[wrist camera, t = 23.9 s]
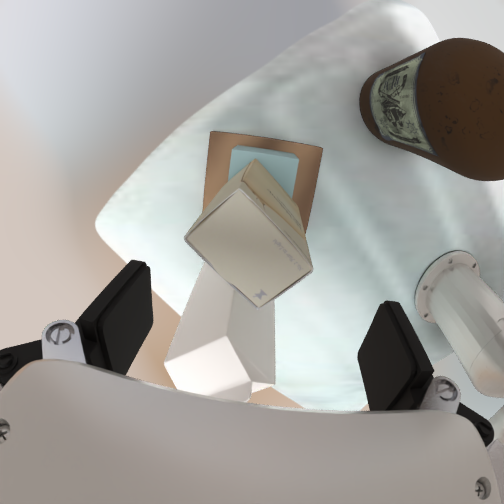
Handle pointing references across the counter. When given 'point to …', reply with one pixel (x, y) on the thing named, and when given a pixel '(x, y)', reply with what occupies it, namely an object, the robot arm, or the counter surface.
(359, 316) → the counter surface
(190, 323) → the milk
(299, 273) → the skincare box
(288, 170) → the brick
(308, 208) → the board
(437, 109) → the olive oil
